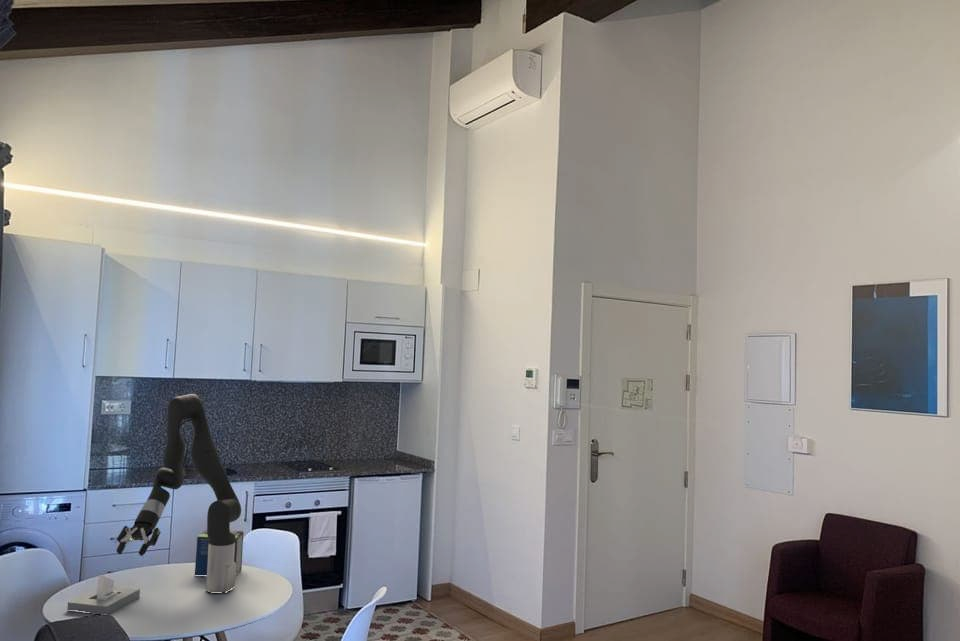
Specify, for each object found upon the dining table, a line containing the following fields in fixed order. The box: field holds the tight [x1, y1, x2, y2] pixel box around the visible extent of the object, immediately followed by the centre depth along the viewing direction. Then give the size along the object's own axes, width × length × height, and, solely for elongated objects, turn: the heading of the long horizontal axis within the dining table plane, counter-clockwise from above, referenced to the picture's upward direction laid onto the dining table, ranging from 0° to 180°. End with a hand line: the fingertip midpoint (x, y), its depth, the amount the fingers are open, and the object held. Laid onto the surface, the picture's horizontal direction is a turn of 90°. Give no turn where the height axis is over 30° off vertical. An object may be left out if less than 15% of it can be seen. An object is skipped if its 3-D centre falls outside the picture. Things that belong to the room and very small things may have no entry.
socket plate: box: [66, 585, 141, 615], centre depth 247 cm, size 14×18×3 cm
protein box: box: [194, 529, 244, 576], centre depth 286 cm, size 10×15×16 cm
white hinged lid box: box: [96, 574, 118, 601], centre depth 246 cm, size 4×10×9 cm, turn 171°
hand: (129, 554), depth 259 cm, fingers open, 8 cm apart
